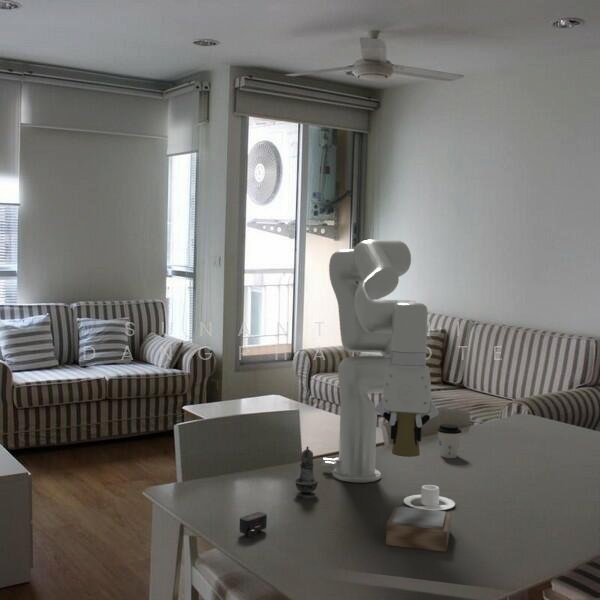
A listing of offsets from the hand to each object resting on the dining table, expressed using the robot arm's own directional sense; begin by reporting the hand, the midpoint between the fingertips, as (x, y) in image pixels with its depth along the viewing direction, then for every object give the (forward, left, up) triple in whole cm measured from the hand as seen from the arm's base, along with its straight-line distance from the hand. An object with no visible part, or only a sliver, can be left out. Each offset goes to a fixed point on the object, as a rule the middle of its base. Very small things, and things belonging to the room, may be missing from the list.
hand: (405, 442), depth 172 cm
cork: (0, 0, -3) cm, 3 cm away
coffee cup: (+6, +59, -18) cm, 62 cm away
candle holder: (+4, +16, -18) cm, 25 cm away
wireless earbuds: (-29, -15, -18) cm, 38 cm away
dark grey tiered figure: (-25, +12, -18) cm, 33 cm away
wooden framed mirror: (+4, -9, -18) cm, 20 cm away
